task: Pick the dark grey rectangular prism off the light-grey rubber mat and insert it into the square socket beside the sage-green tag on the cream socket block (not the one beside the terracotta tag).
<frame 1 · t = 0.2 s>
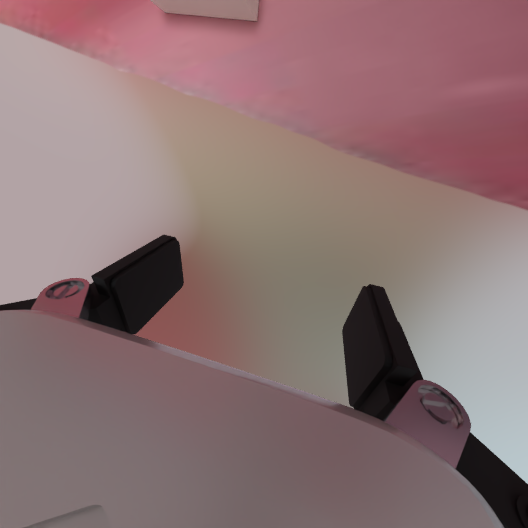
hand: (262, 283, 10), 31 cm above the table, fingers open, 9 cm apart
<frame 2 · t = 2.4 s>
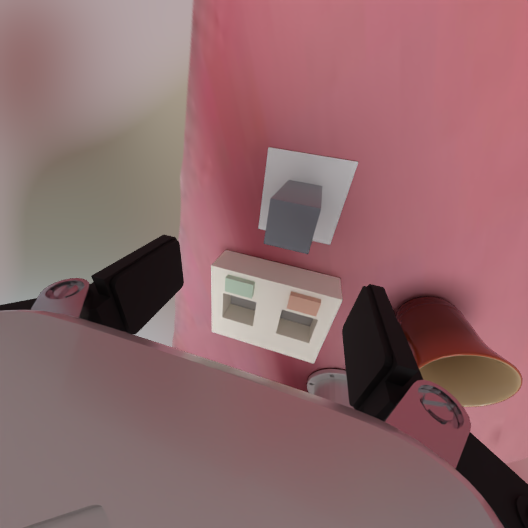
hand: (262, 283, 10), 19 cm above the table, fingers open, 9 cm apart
dark grey rectangular prism: (301, 199, 25), point 1 cm above the table, touching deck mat
socket block: (273, 297, 35), on the table
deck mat: (302, 198, 26), on the table
mug: (408, 312, 30), on the table
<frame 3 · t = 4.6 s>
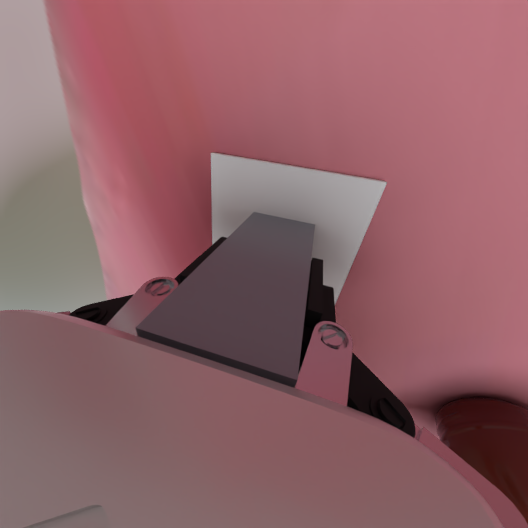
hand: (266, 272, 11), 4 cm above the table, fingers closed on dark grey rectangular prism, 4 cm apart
dark grey rectangular prism: (278, 245, 14), point 1 cm above the table, touching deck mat, gripper
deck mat: (280, 242, 15), on the table
mug: (455, 410, 19), on the table
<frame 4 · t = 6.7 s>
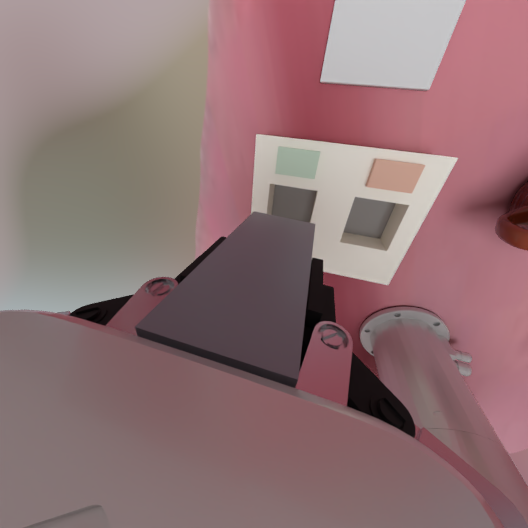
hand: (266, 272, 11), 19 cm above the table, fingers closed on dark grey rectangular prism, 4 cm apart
dark grey rectangular prism: (278, 245, 14), point 15 cm above the table, touching gripper
socket block: (328, 205, 27), on the table
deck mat: (393, 10, 17), on the table
when the fingers open (6 cm above the table, at t = 8.9 s): dark grey rectangular prism drops 1 cm, resting on socket block.
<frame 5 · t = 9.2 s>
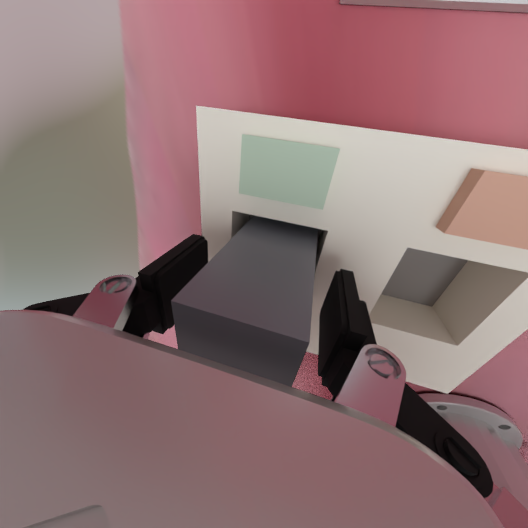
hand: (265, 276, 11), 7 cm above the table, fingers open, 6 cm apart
dark grey rectangular prism: (284, 240, 15), point 2 cm above the table, touching socket block
socket block: (342, 243, 16), on the table
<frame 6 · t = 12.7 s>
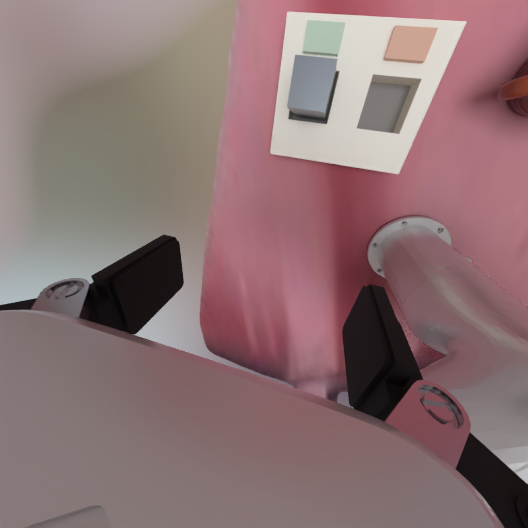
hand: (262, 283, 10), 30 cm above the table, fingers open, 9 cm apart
dark grey rectangular prism: (314, 101, 28), point 2 cm above the table, touching socket block
socket block: (345, 106, 29), on the table
mug: (526, 85, 24), on the table
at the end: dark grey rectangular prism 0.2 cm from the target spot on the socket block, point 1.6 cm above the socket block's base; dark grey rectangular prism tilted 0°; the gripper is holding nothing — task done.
